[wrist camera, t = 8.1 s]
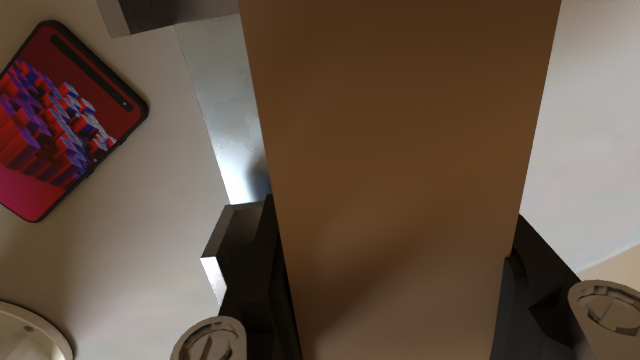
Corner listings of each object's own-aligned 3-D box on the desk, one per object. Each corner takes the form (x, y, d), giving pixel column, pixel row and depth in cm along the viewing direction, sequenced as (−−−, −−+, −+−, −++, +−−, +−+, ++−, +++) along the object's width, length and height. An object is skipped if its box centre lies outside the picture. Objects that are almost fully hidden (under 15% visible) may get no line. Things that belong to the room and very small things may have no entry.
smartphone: (-67, 159, 25) (43, 12, 20) (-54, 154, 26) (54, 11, 21) (34, 228, 28) (151, 113, 23) (42, 221, 29) (157, 109, 24)
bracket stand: (347, 232, 28) (354, 320, 21) (249, 243, 29) (223, 332, 21) (295, -132, 17) (273, -220, 10) (143, -101, 18) (16, -163, 11)
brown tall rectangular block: (424, 390, 15) (458, 515, 11) (329, 395, 15) (332, 520, 11) (468, -213, 6) (656, -478, 3) (249, -185, 6) (164, -399, 3)
